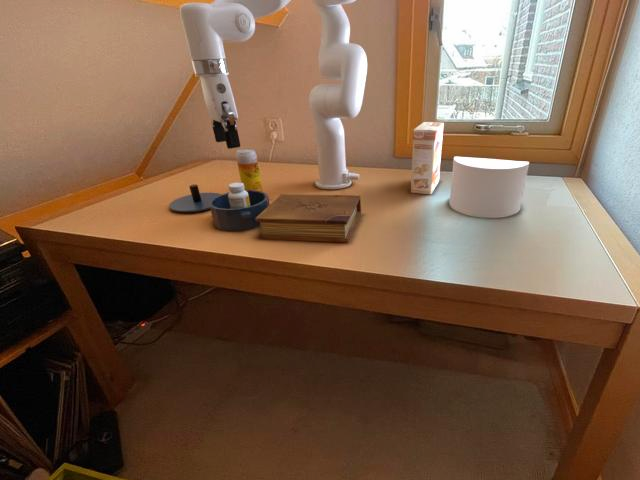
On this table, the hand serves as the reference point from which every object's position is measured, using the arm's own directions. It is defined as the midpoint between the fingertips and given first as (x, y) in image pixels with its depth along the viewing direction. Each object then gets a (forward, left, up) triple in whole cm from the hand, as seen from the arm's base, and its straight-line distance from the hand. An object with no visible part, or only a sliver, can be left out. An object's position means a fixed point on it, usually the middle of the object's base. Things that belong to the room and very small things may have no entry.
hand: (228, 144), depth 95 cm
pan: (0, +1, -20) cm, 20 cm away
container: (-69, -11, -21) cm, 73 cm away
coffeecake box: (-53, -28, -21) cm, 64 cm away
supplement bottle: (0, +1, -20) cm, 20 cm away
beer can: (+3, -17, -21) cm, 27 cm away
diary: (-21, +5, -21) cm, 30 cm away
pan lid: (+19, -11, -20) cm, 29 cm away
